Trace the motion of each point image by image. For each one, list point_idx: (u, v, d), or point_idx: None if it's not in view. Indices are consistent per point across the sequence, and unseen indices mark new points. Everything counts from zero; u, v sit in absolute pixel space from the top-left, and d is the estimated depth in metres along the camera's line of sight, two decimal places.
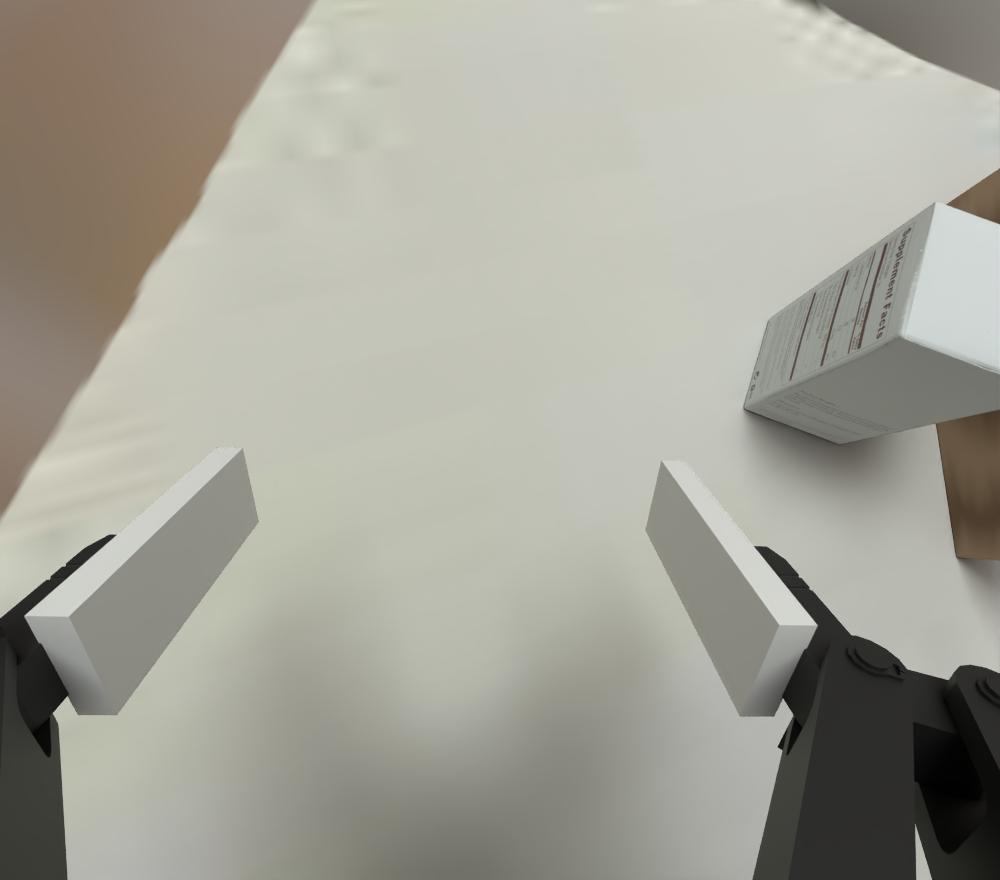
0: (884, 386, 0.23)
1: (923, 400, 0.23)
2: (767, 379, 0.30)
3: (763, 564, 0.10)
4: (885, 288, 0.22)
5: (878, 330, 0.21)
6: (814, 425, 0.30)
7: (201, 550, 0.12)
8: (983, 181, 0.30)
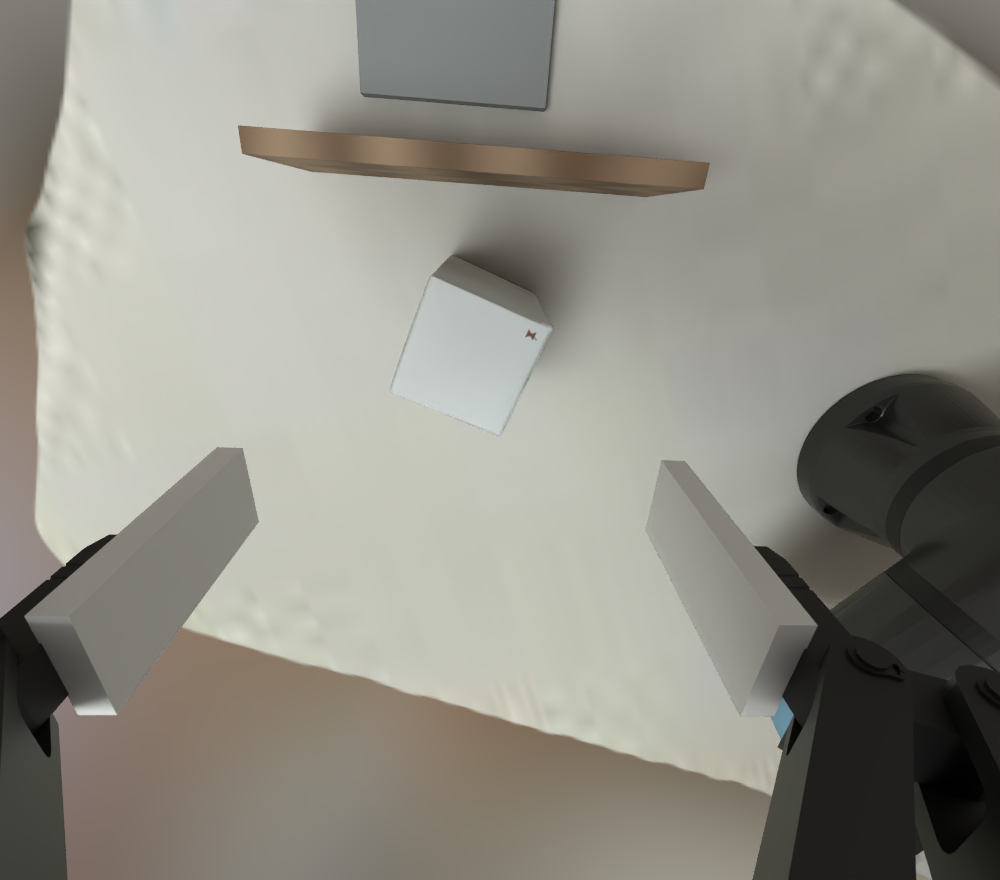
0: None
1: None
2: None
3: (763, 564, 0.10)
4: None
5: None
6: None
7: (201, 550, 0.12)
8: (282, 163, 0.28)
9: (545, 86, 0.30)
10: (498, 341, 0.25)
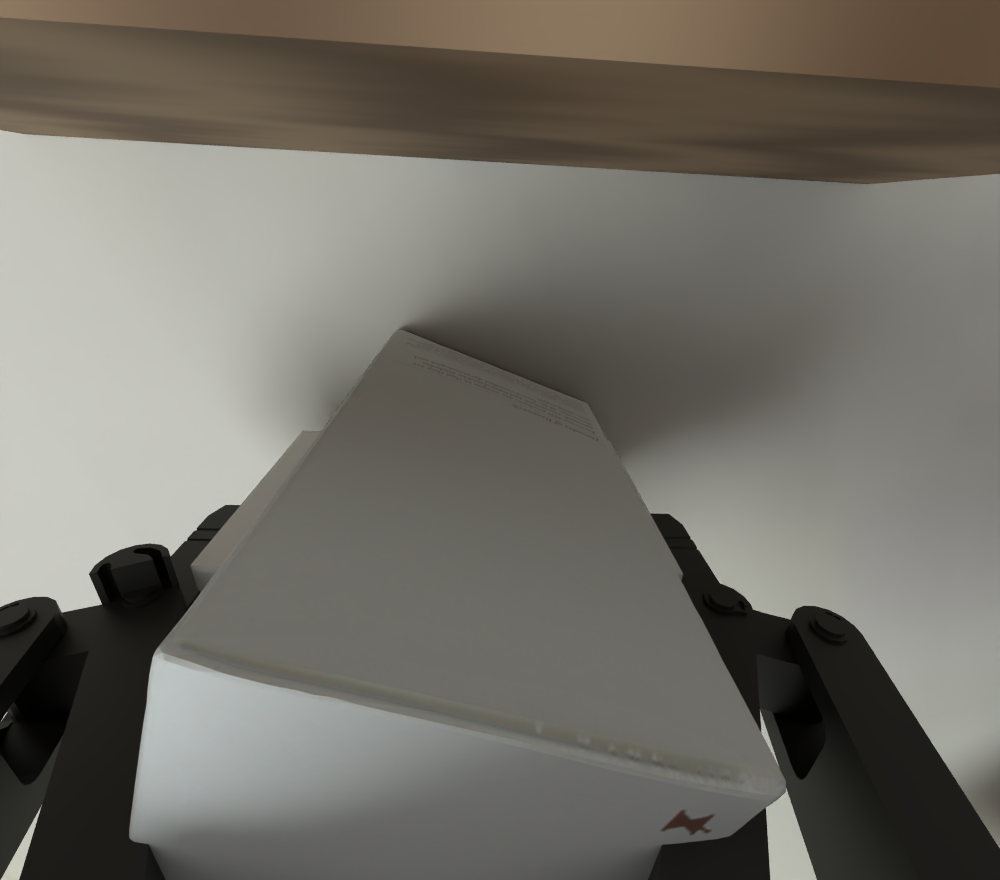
0: None
1: None
2: None
3: (652, 525, 0.11)
4: None
5: None
6: None
7: None
8: None
9: None
10: (537, 847, 0.06)
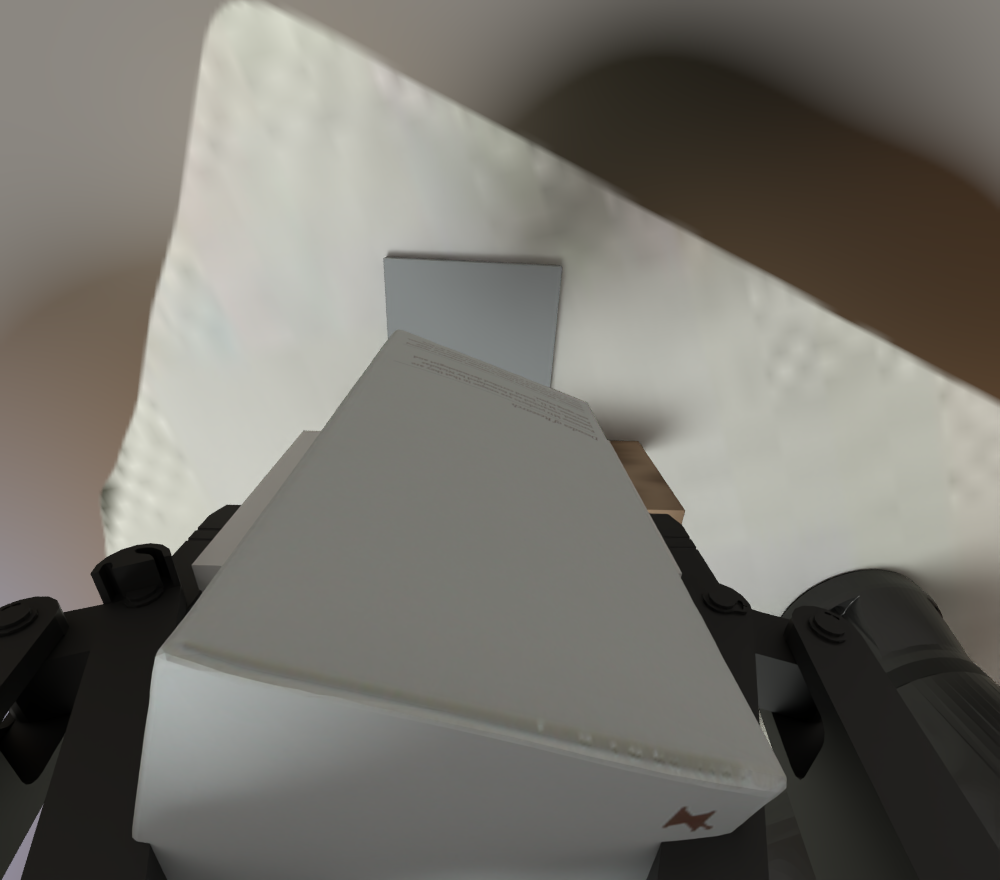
0: None
1: None
2: None
3: None
4: None
5: None
6: None
7: None
8: None
9: None
10: (538, 845, 0.06)
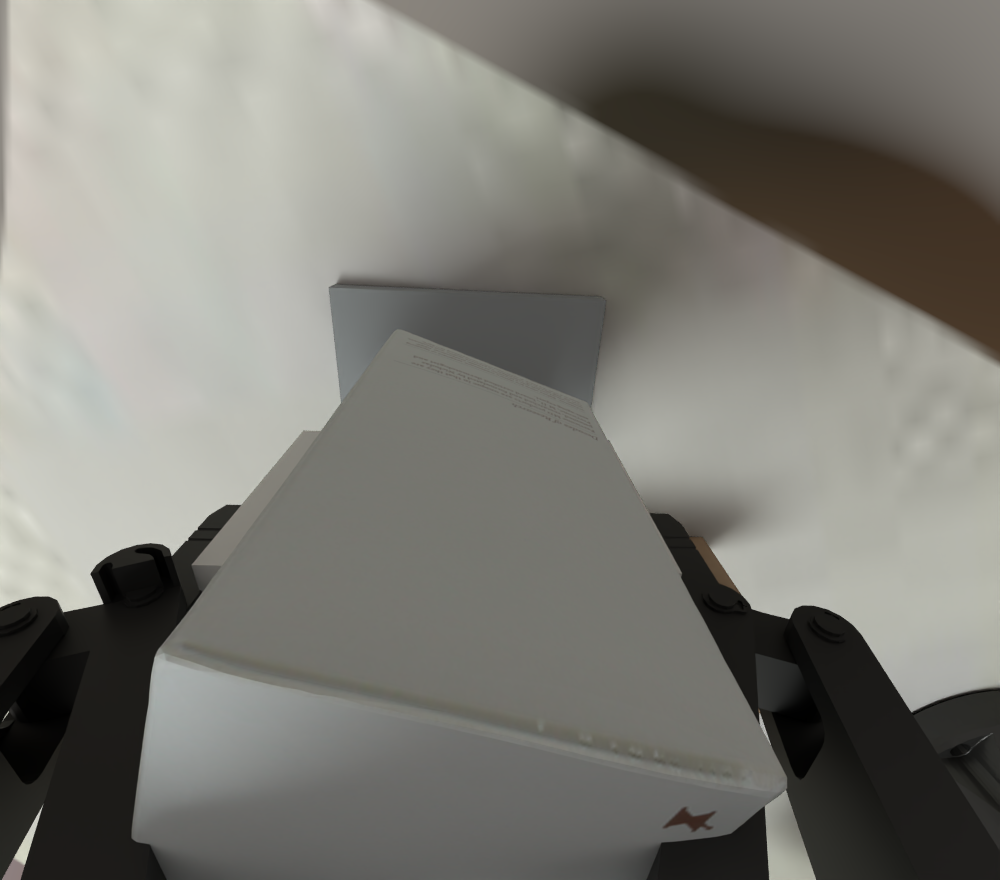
0: None
1: None
2: None
3: None
4: None
5: None
6: None
7: None
8: None
9: None
10: (539, 846, 0.06)
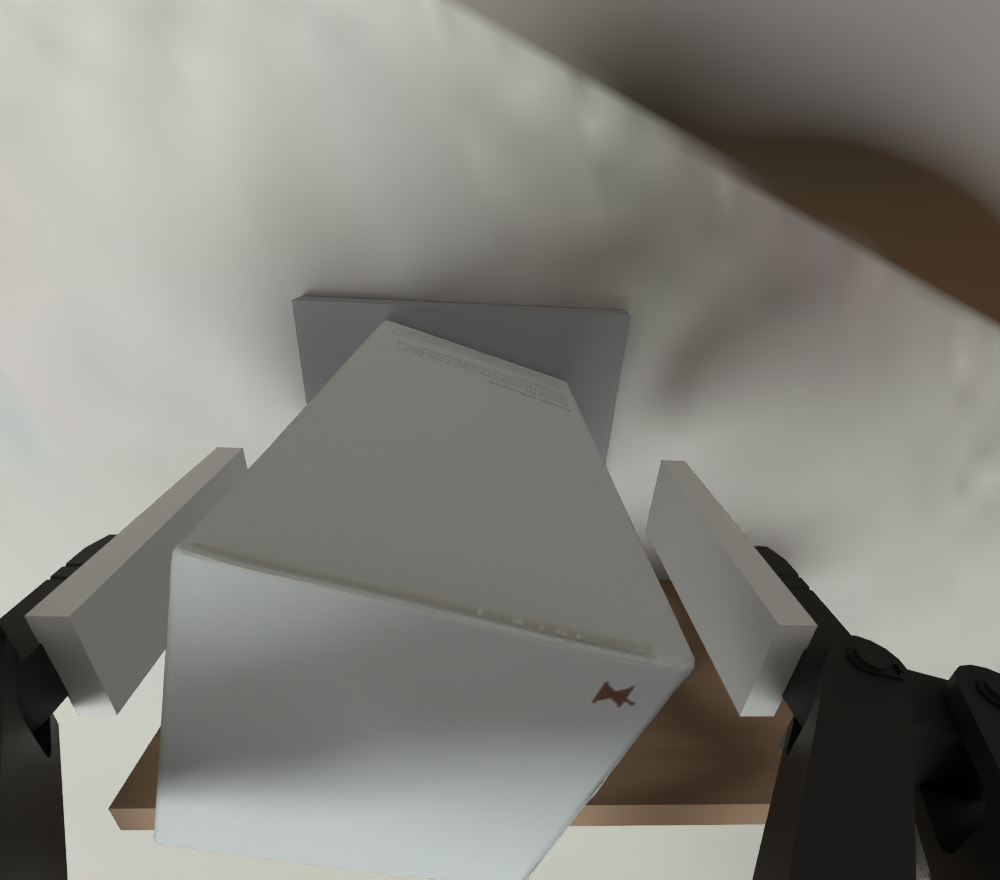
0: None
1: None
2: None
3: (763, 564, 0.10)
4: None
5: None
6: None
7: None
8: None
9: None
10: (491, 721, 0.07)
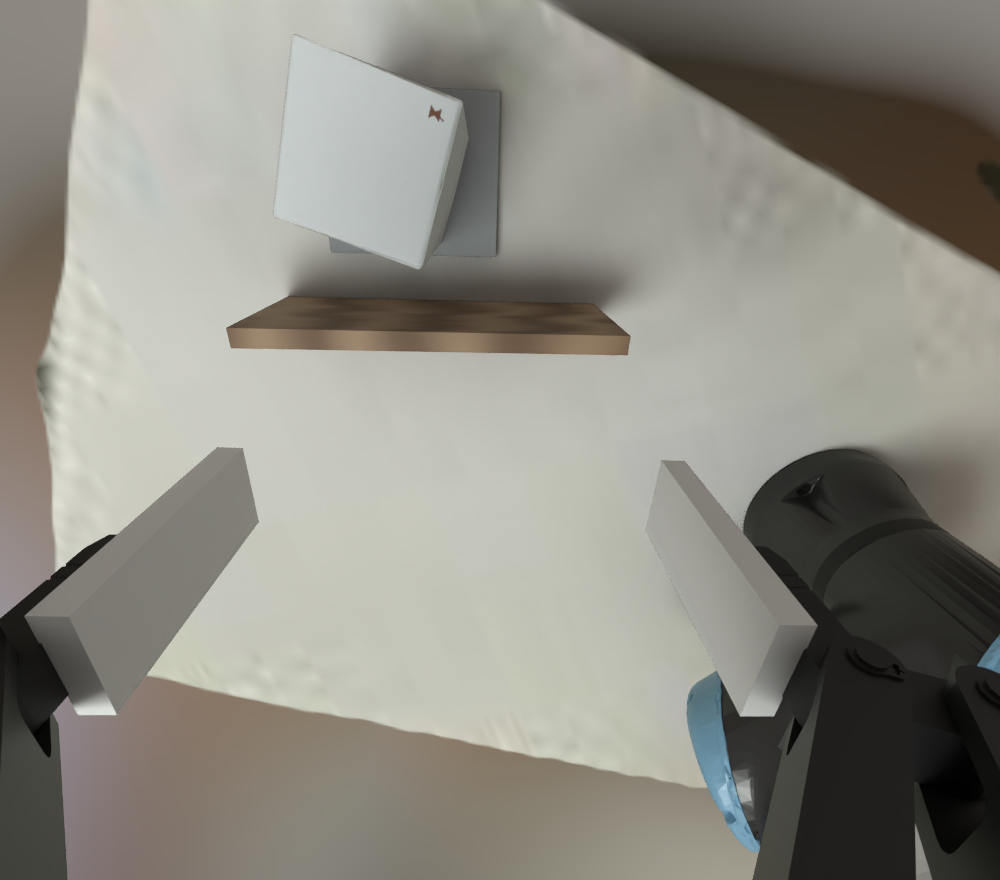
0: (443, 213, 0.25)
1: (453, 171, 0.24)
2: None
3: (763, 564, 0.10)
4: None
5: None
6: (456, 186, 0.31)
7: (201, 550, 0.12)
8: None
9: (494, 240, 0.34)
10: (394, 126, 0.20)
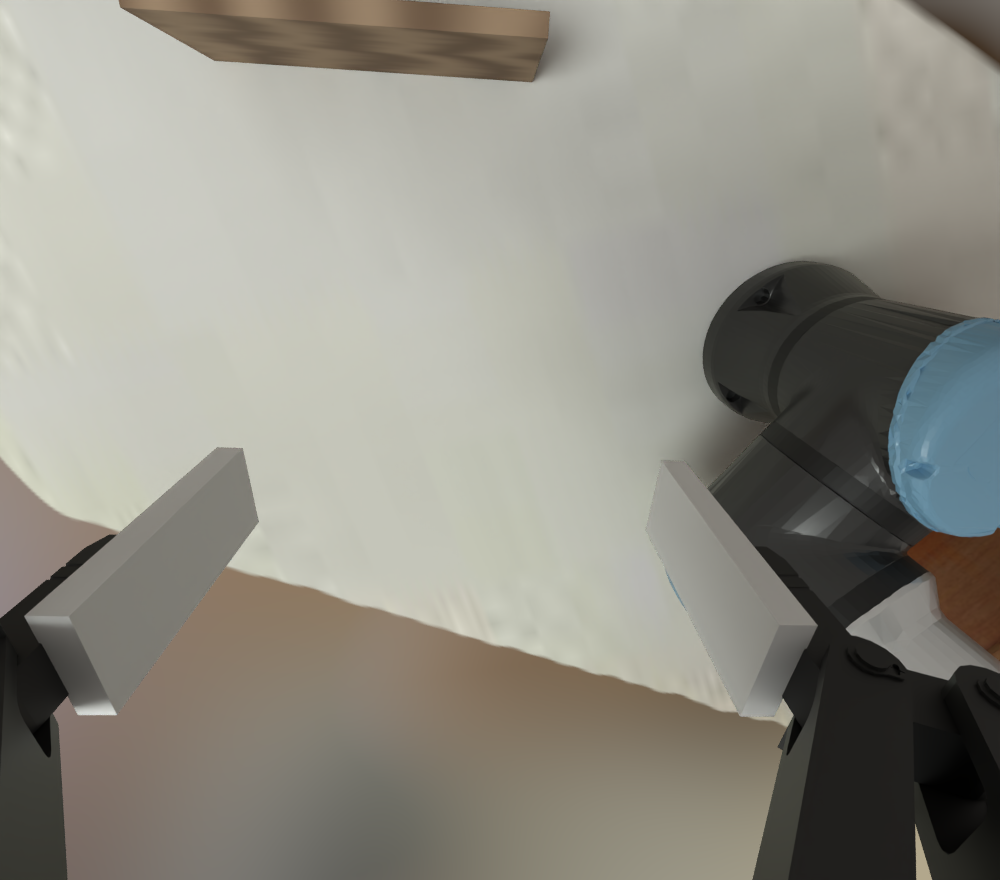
0: None
1: None
2: None
3: (763, 564, 0.10)
4: None
5: None
6: None
7: (201, 550, 0.12)
8: (173, 36, 0.30)
9: None
10: None
